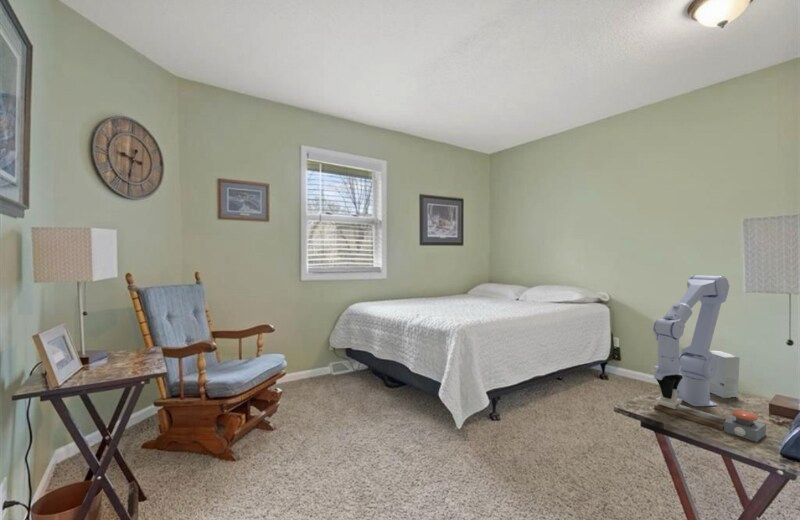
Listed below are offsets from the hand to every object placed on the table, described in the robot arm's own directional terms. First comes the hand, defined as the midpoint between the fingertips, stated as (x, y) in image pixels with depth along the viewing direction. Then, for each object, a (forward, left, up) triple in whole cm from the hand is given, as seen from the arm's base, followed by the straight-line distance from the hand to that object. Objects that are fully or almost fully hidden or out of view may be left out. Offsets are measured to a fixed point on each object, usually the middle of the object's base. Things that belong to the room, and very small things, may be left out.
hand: (668, 396), depth 121 cm
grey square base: (+17, +9, -4) cm, 19 cm away
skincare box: (-11, +27, -4) cm, 30 cm away
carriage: (0, 0, -3) cm, 3 cm away
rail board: (+5, +3, -4) cm, 7 cm away
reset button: (+16, +10, -2) cm, 19 cm away
